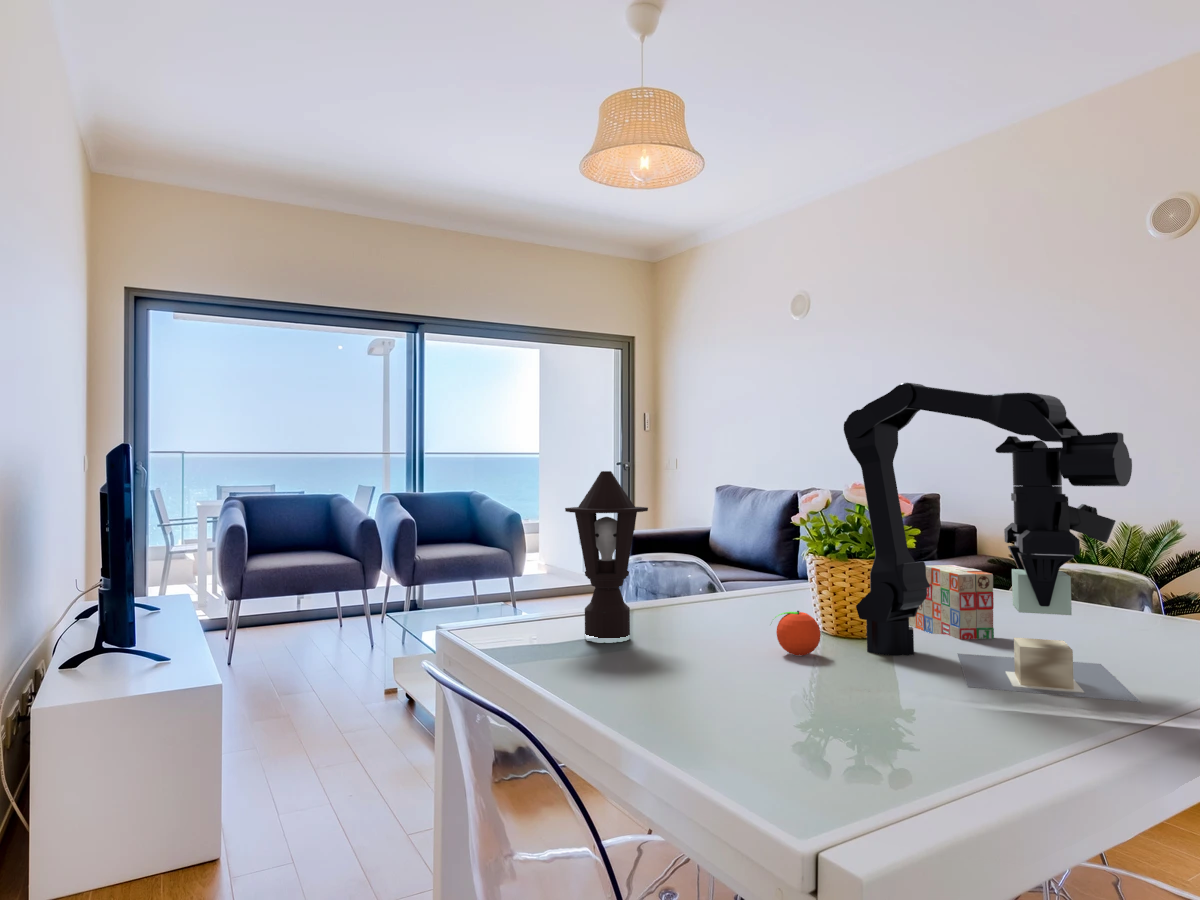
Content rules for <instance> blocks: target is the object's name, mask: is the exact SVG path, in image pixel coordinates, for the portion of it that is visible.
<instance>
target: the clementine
mask: <svg viewBox="0 0 1200 900" xmlns="http://www.w3.org/2000/svg"><path fill="white" fill-rule="evenodd" d="M781 615H784V616H782V617H781V619H780V620H779V621H778V623H777V625H776V638H777V642H778V643H779V646H780V647H781V648H782V649H783V650H784V651H786V652H787V654H791V655H793V656H798V657H799V656H800V657H801V656H806V655H809V654H811V653H812V652H814V651H815V650H816V649H817V647H818V646H819V644H820V642H821V628H820V626H819V624H818V622H817V621H816V620H815V618H814V617H813V616H811V615H810V614H808V613H806V612H802V611H800V610H797V611H786V612H782V613H780V614H777V615H776V616H775V617H773V619H772V620H771V622H770V624H769V626H771V624H772V622H773V620H774V619H776V618H778V617H779V616H781Z"/></svg>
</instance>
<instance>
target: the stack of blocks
mask: <svg viewBox="0 0 1200 900" xmlns="http://www.w3.org/2000/svg"><path fill="white" fill-rule="evenodd" d="M925 566H926V578H927V581H928V583H929V585H930V587H929V588H927V596H926V599H925V600H924V601H923V603H922V604H921V605H920V606H919V608H918V611H917V614H916V616H915V617H909V626H910V627H912V628H916V629H918V630H920V629H921V631H924V632H925V631H926V633H928V632H929V633H928V634H930V633H931V634H933V635H934V634H935V635H947V636H949V637H951V638H952V637H953V638H954V639H958V640H982V639H986V640H988V639H991V640H992V639H995V638H994V637H995V628H994V607H995V606H994V575H993V573H990V572H986V571H983V570H981V569H976V568H972V567H971V568H969V567H965V566H959V565H954V564H939V565H937V564H936V565H934V564H933V565H925Z"/></svg>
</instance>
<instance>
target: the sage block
mask: <svg viewBox="0 0 1200 900" xmlns="http://www.w3.org/2000/svg"><path fill="white" fill-rule="evenodd" d="M1011 585H1012V586H1011V590H1012V591H1011V595H1012V606H1013V607H1014V609H1015V610H1016V611H1017V612H1018V613H1022V614H1040V615H1044V614H1045V615H1061V616H1073V614H1072V578H1071V576H1070V575H1069V574H1067V573H1066V572H1064V571H1062V570H1059V571H1058V575H1057V579H1056V582H1055V586H1054V590H1053V594H1052V598H1051V602H1050V606H1048V607H1046V606H1040V605H1039V603H1038V601H1037V598H1036V596H1035V594H1034V591H1033V589H1032V586H1031V584H1030V582H1029V579H1028V577H1027V574H1026V572H1025V570H1021V569H1018V568H1016V569H1015V568H1011Z"/></svg>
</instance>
